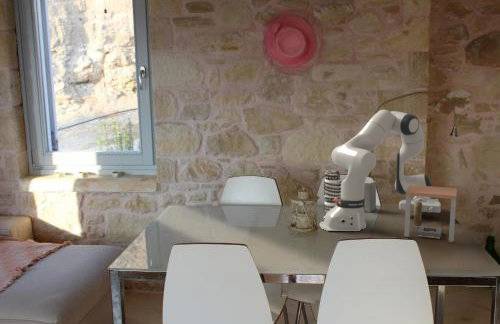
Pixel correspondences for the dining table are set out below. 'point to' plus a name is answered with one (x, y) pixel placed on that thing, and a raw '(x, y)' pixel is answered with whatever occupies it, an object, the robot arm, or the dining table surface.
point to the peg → (417, 213)
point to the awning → (436, 193)
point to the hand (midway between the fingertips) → (418, 210)
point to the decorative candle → (331, 189)
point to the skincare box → (370, 196)
